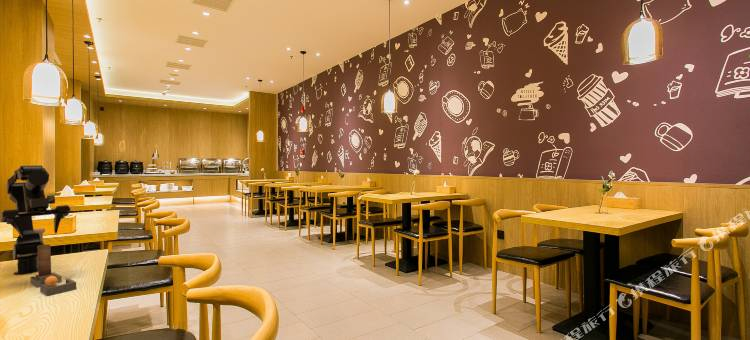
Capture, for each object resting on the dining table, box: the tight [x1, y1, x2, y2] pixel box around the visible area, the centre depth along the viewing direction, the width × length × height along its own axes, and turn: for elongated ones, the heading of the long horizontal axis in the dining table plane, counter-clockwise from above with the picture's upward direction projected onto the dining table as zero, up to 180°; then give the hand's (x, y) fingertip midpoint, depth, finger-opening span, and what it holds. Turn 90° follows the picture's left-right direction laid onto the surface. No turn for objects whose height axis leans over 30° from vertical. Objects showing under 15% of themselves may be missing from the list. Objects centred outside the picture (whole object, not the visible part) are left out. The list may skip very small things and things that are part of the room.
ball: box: [45, 276, 58, 287], centre depth 133 cm, size 4×4×4 cm
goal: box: [39, 277, 77, 297], centre depth 129 cm, size 8×8×2 cm
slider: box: [34, 243, 55, 284], centre depth 137 cm, size 6×4×13 cm
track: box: [29, 271, 63, 288], centre depth 137 cm, size 8×7×2 cm
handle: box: [33, 227, 46, 243], centre depth 165 cm, size 5×6×15 cm
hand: (39, 235), depth 136 cm, fingers open, 9 cm apart
